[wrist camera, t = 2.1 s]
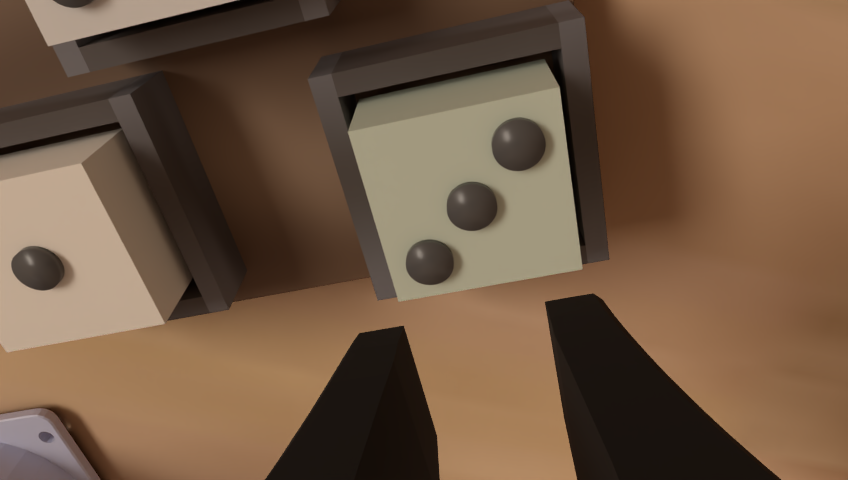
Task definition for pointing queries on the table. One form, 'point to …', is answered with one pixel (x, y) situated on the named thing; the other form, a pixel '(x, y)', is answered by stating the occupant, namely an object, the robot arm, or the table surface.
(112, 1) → the tile two
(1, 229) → the tile one
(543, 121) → the tile three
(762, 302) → the table surface
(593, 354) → the robot arm
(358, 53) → the dark brown cabinet frame
